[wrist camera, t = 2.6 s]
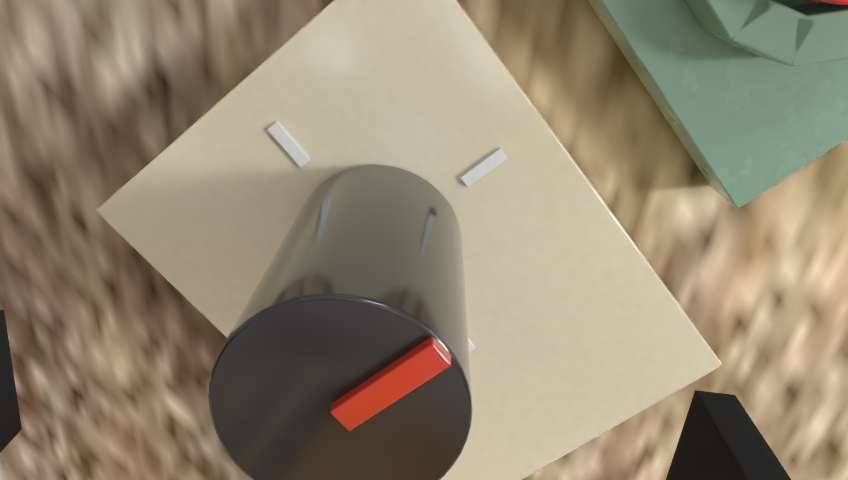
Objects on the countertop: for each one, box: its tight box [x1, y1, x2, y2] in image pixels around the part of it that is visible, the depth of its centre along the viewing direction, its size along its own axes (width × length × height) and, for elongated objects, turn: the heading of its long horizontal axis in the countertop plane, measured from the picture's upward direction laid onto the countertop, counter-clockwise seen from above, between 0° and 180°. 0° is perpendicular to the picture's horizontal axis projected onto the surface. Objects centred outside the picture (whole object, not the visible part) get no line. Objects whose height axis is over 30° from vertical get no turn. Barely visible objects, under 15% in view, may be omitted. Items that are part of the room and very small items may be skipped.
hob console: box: [96, 0, 722, 480], centre depth 22 cm, size 16×12×3 cm
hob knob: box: [208, 165, 472, 480], centre depth 16 cm, size 5×5×8 cm
